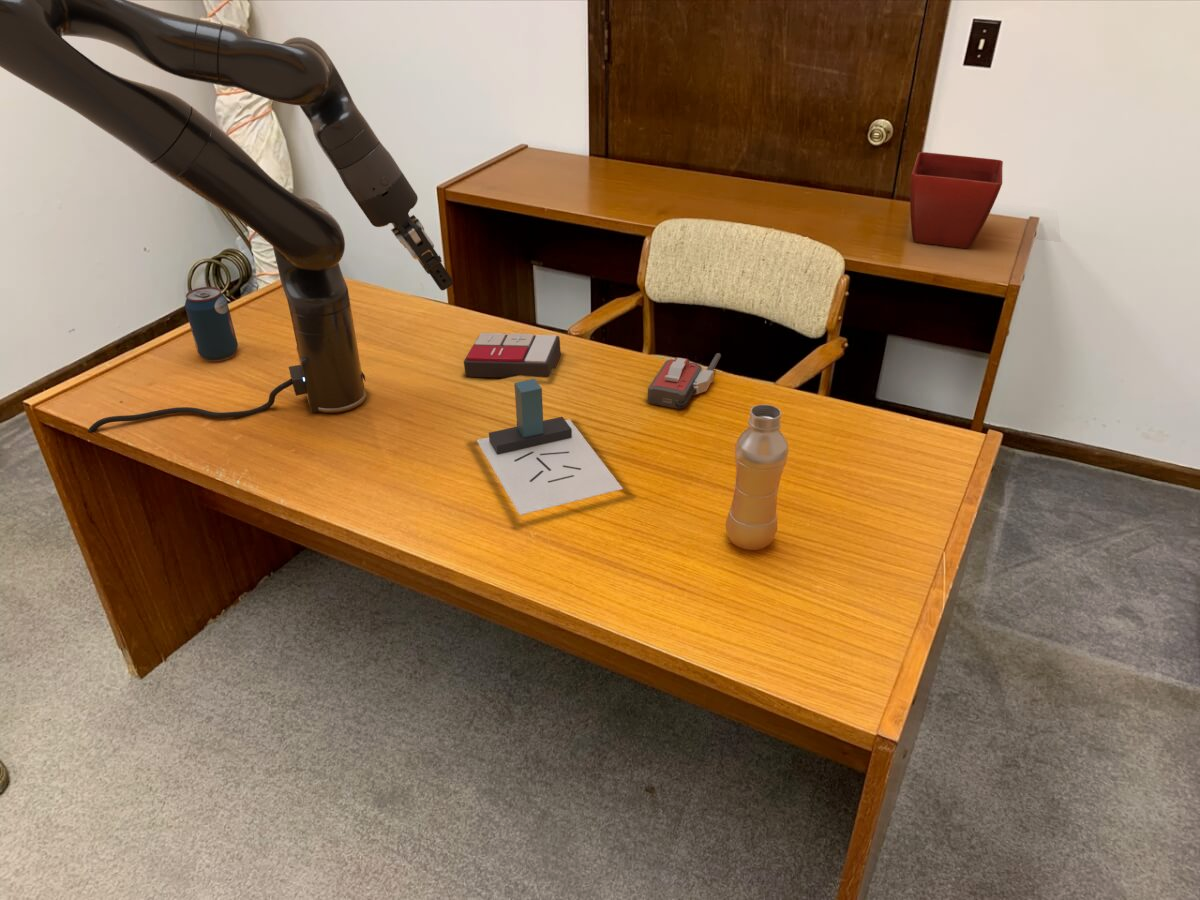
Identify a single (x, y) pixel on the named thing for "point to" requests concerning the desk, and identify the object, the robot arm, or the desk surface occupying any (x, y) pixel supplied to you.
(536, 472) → the whiteboard
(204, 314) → the soda can
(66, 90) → the robot arm
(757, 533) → the plastic bottle
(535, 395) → the eraser
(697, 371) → the walkie-talkie
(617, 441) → the desk surface
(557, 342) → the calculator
